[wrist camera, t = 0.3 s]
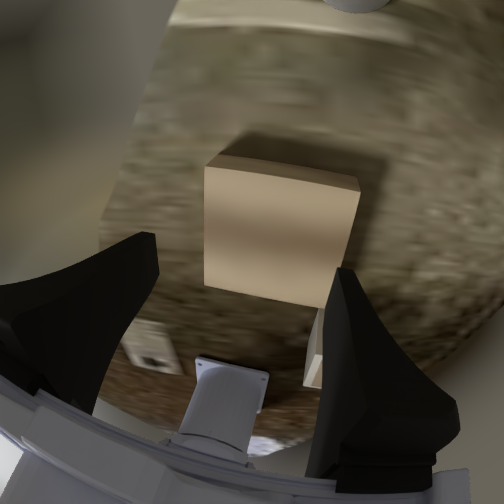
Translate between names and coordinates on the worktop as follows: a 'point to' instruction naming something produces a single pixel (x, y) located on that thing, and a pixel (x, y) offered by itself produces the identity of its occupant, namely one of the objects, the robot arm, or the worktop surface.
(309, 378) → the box
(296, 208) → the maple block
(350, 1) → the beverage can
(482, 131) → the worktop surface
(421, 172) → the worktop surface
